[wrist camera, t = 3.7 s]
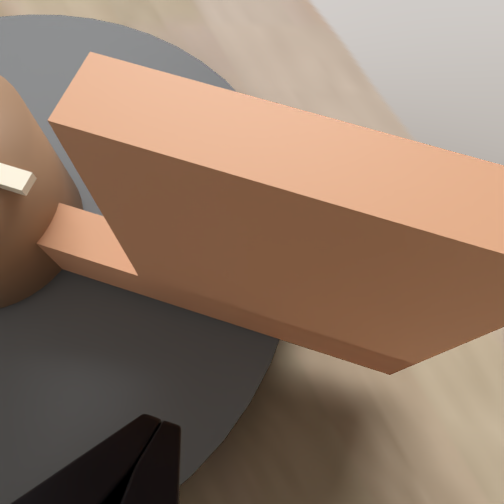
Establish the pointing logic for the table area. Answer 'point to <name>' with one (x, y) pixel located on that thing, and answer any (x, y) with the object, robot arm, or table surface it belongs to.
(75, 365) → the dial plate
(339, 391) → the table surface
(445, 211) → the capstan
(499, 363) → the table surface
